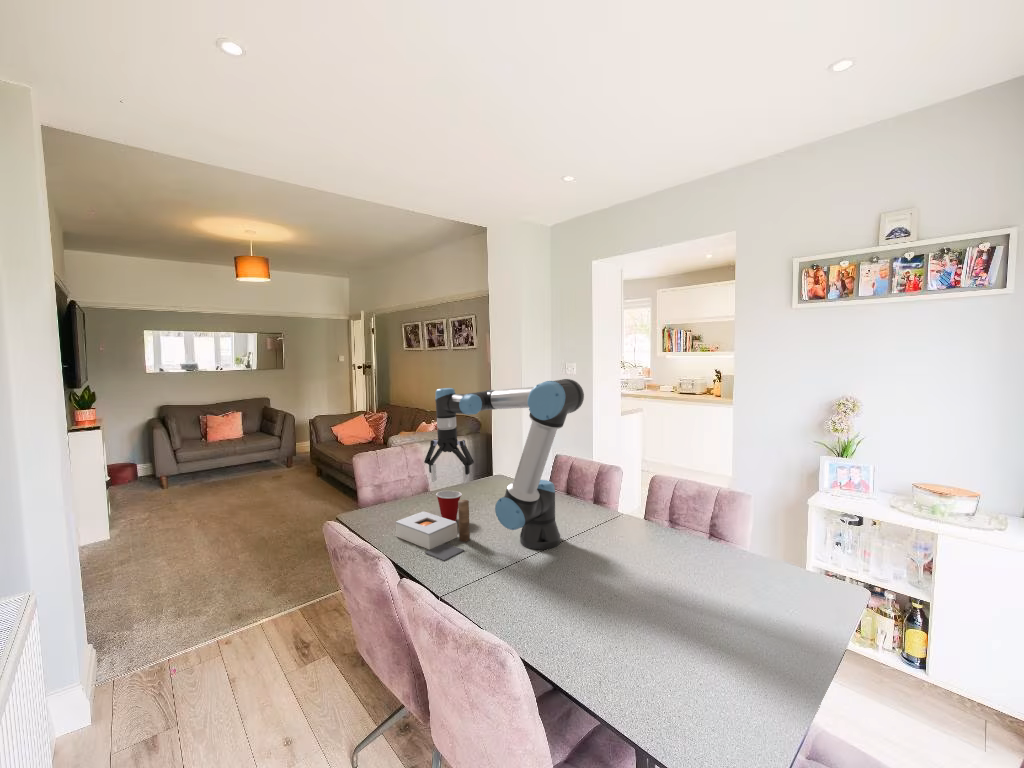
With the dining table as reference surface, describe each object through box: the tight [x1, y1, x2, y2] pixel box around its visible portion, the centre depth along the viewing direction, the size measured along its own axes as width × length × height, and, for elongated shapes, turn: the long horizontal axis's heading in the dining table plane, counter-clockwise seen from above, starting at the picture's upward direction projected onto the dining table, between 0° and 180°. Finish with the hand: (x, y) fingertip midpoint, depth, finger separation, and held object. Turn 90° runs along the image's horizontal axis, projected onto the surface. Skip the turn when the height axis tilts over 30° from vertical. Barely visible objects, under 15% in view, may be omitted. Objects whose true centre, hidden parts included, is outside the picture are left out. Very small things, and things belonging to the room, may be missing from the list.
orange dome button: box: [420, 522, 432, 526], centre depth 182 cm, size 5×5×2 cm
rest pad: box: [424, 542, 466, 562], centre depth 169 cm, size 10×10×1 cm
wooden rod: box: [458, 499, 471, 543], centre depth 179 cm, size 4×4×15 cm
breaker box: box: [394, 510, 458, 551], centre depth 182 cm, size 20×14×6 cm
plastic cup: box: [435, 490, 463, 522], centre depth 198 cm, size 11×11×12 cm
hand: (449, 481), depth 183 cm, fingers open, 13 cm apart
